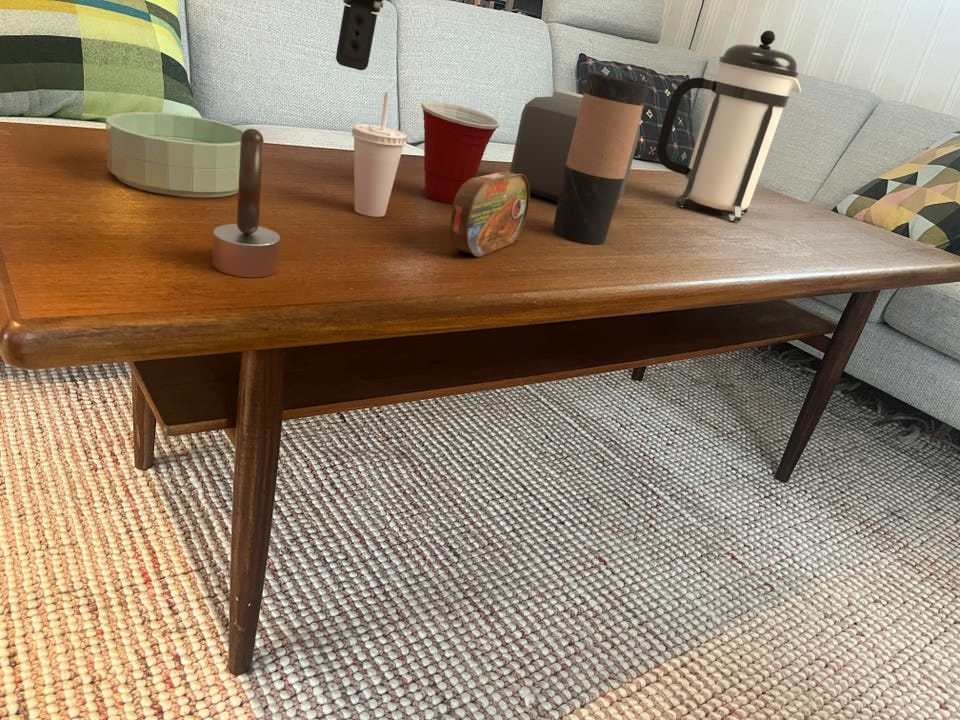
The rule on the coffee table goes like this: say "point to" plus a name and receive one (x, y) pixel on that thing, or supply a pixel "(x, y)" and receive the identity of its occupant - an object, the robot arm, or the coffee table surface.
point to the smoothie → (375, 164)
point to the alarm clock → (550, 142)
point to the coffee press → (733, 125)
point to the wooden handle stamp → (247, 221)
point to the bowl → (174, 154)
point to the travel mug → (598, 157)
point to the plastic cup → (453, 146)
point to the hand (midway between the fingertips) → (351, 63)
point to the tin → (489, 212)
